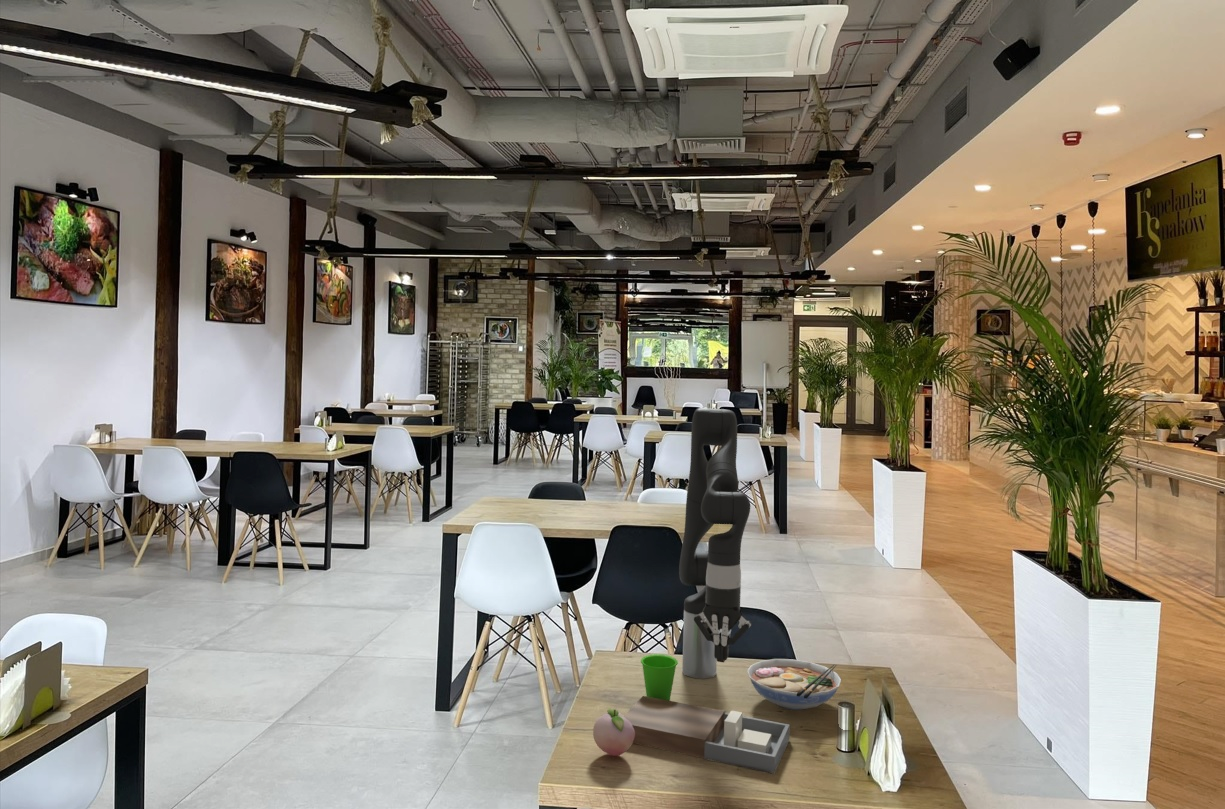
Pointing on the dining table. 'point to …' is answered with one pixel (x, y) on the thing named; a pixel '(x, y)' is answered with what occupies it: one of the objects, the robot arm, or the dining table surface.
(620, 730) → the decorative fruit
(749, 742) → the tile
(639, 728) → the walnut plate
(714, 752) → the box
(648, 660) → the cup
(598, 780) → the dining table surface
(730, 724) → the tile
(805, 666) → the ramen bowl
